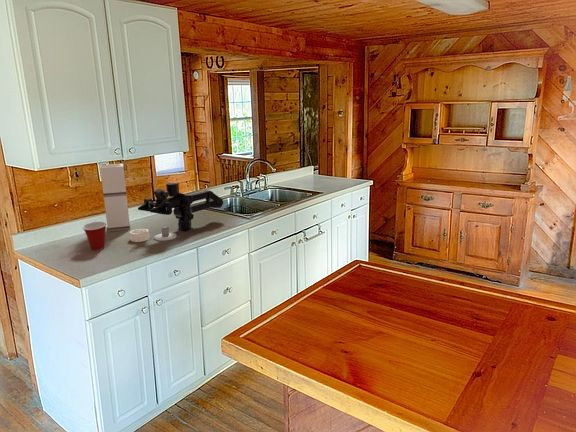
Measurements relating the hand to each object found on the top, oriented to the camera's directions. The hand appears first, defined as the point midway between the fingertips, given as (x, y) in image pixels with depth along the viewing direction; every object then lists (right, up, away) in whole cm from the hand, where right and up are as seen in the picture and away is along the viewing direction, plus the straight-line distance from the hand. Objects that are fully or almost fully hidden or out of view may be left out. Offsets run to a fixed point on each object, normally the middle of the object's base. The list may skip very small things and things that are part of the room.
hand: (143, 209), depth 218 cm
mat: (+8, -14, +10) cm, 19 cm away
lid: (+8, -14, +10) cm, 19 cm away
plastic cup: (-21, -19, -4) cm, 28 cm away
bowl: (-4, -15, +8) cm, 18 cm away
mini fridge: (-23, -10, +29) cm, 39 cm away
